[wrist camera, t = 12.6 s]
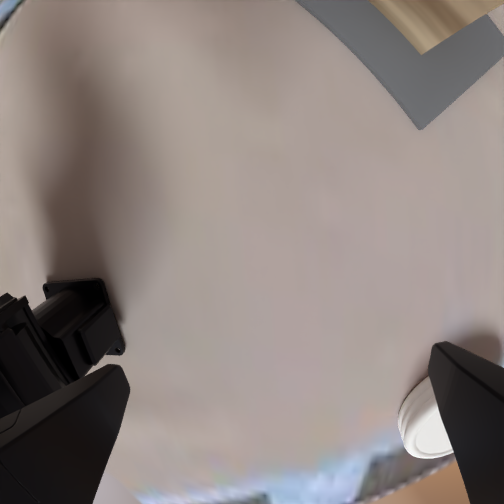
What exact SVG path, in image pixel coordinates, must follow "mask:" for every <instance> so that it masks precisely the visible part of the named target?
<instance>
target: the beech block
mask: <svg viewBox="0 0 504 504" xmlns="http://www.w3.org/2000/svg"><path fill="white" fill-rule="evenodd" d="M368 1H369V2H370V3H371V4H373V5H374V6H375V7H376V8H377V9H378V10H379V11H380V12H381V13H382V14H383V15H384V16H385V17H386V18H387V19H388V20H389V21H390V22H391V23H392V24H393V25H394V26H395V27H396V28H397V29H398V30H399V31H400V32H401V33H402V34H403V35H404V36H405V38H406V39H407V40H408V41H409V42H410V43H411V44H412V45H413V46H414V48H415V49H416V50H417V51H418V52H419V53H420V54H421V55H422V54H424V53H425V52H427V51H428V50H430V49H431V48H433V47H434V46H436V45H437V44H439V43H440V42H442V41H444V40H445V39H447V38H448V37H450V36H451V35H453V34H454V33H456V32H458V31H459V30H461V29H462V28H464V27H465V26H467V25H469V24H470V23H472V22H474V21H475V20H477V19H478V18H480V17H482V16H483V15H485V14H487V13H488V12H490V11H492V10H493V9H495V8H497V7H499V6H500V5H502V4H504V0H368Z"/></svg>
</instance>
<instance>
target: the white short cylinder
mask: <svg viewBox="0 0 504 504" xmlns="http://www.w3.org/2000/svg"><path fill="white" fill-rule="evenodd" d="M398 428H399V431H400V432H401V437H402V440H403V441H404V447H405V449H406V450H407V451H408V453H410V454H411V455H412V456H414V457H418V458H428V459H429V458H437V457H441V456H445V455H447V454H450V453H452V452H453V449H452V446H451V443H450V441H449V438H448V435H447V433H446V430H445V427H444V425H443V422H442V419H441V416H440V413H439V410H438V406H437V402H436V399H435V395H434V391H433V388H432V385H431V381H430V378H429V376H428V377H427V378H425V379H424V380H423V381H422V382H421V383H419V384H418V385H417V386H416V387H415V388H414V389H413V391H412V392H411V393H410V394H409V395H408V397H407V398H406V399H405V401H404V403H403V404H402V406H401V409H400V411H399V415H398Z"/></svg>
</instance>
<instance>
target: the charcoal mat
mask: <svg viewBox="0 0 504 504" xmlns="http://www.w3.org/2000/svg"><path fill="white" fill-rule="evenodd" d="M295 1H296V2H298V3H299V4H300V5H301V6H303V7H304V8H305V9H306V10H307V11H309V12H310V13H311V14H312V15H313V16H314V17H316V18H317V19H318V20H319V21H320V22H321V23H322V24H324V25H325V26H326V27H327V28H328V29H329V30H330V31H331V32H332V33H333V34H334V35H335V36H337V37H338V38H339V39H340V40H341V41H342V42H343V43H344V44H345V45H346V46H347V47H348V48H349V49H350V50H351V51H352V52H353V53H354V54H355V55H356V56H357V57H358V58H359V59H360V60H361V61H362V63H363V64H364V65H365V66H366V67H367V68H368V69H369V70H370V71H371V72H372V73H373V74H374V76H375V77H376V78H377V79H378V80H379V81H380V82H381V83H382V85H383V86H384V87H385V88H386V89H387V90H388V92H389V93H390V94H391V95H392V96H393V98H394V99H395V100H396V101H397V103H398V104H399V105H400V106H401V108H402V109H403V110H404V111H405V113H406V114H407V115H408V117H409V118H410V119H411V120H412V122H413V123H414V124H415V126H416V127H417V129H418V130H422V129H424V128H425V127H426V126H427V125H428V124H429V123H430V122H431V121H433V120H434V119H435V118H436V117H437V116H438V115H439V114H440V113H442V112H443V111H444V110H445V109H446V108H447V107H448V106H449V105H450V104H452V103H453V102H454V101H455V100H456V99H457V98H458V97H459V96H460V95H462V94H463V93H464V92H465V91H466V90H467V89H468V88H469V87H470V86H472V85H473V84H474V83H475V82H476V81H477V80H478V79H479V78H480V77H481V76H483V75H484V74H485V73H486V72H487V71H488V70H489V69H490V68H491V67H492V66H493V65H495V64H496V63H497V62H498V61H499V60H500V59H501V58H502V57H503V56H504V36H503V35H502V33H501V32H500V31H499V29H498V28H497V27H496V25H495V24H494V23H493V21H492V20H491V19H490V17H489V16H488V15H487V14H485V15H483V16H482V17H480V18H478V19H477V20H475V21H474V22H472V23H470V24H469V25H467V26H465V27H464V28H462V29H461V30H459V31H458V32H456V33H454V34H453V35H451V36H450V37H448V38H447V39H445V40H444V41H442V42H440V43H439V44H437V45H436V46H434V47H433V48H431V49H430V50H428V51H427V52H425V53H424V54H422V55H421V54H420V53H419V52H418V51H417V50H416V49H415V48H414V46H413V45H412V44H411V43H410V42H409V41H408V40H407V39H406V38H405V36H404V35H403V34H402V33H401V32H400V31H399V30H398V29H397V28H396V27H395V26H394V25H393V24H392V23H391V22H390V21H389V20H388V19H387V18H386V17H385V16H384V15H383V14H382V13H381V12H380V11H379V10H378V9H377V8H376V7H375V6H374V5H373V4H371V3H370V2H369V1H368V0H295Z"/></svg>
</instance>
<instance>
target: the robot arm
mask: <svg viewBox="0 0 504 504" xmlns="http://www.w3.org/2000/svg"><path fill="white" fill-rule="evenodd" d="M96 283H97V284H98V285H99V287H97V285H96ZM43 291H44V294H45V297H46V301H44V302H43V303H42V304H40V305H39V306H37V307H36V308H35V309H33V310H31V308H30V307H29V305H28V303H29V302H28V300H27V298H26V296H23V297H21V298H19V299H17V298H15V297H12V296H11V295H10V294H8V293H6V294H4V295H2V296H1V297H0V504H93V500H94V498H95V495H96V492H97V489H98V487H99V484H100V481H101V478H102V475H103V473H104V470H105V467H106V465H107V462H108V459H109V457H110V454H111V452H112V449H113V446H114V444H115V441H116V439H117V436H118V433H119V430H120V427H121V423H122V419H123V416H124V412H125V409H126V405H127V401H128V398H129V394H130V386H129V383H128V381H127V378H126V376H125V373H124V371H123V369H122V367H121V366H120V365H115V364H107V365H105V366H103V367H102V368H100V369H98V370H96V371H94V372H92V373H90V374H88V375H86V374H87V373H88V371H89V370H90V369H91V368H92V366H93V365H94V366H96V365H97V364H98V362H99V361H100V360H101V359H102V358H103V356H104V355H119V356H120V355H122V354H123V353H124V352H125V347H124V344H123V341H122V338H121V335H120V332H119V329H118V326H117V323H116V320H115V317H114V314H113V311H112V308H111V305H110V302H109V299H108V295H107V292H106V289H105V285H104V283H103V281H102V280H101V279H99V278H92V279H80V280H67V281H54V282H47V283H45V284H44V285H43ZM118 348H119V349H120V350H119V349H118ZM428 374H429V378H430V381H431V385H432V388H433V391H434V395H435V399H436V402H437V406H438V410H439V413H440V416H441V419H442V422H443V425H444V427H445V430H446V433H447V435H448V438H449V441H450V443H451V446H452V449H453V452H454V454H455V457H456V460H457V463H458V466H459V469H460V472H461V475H462V478H463V481H464V484H465V488H466V491H467V494H468V498H469V501H470V504H504V368H503V367H501V366H499V365H496V364H494V363H492V362H490V361H488V360H486V359H484V358H482V357H479V356H477V355H475V354H473V353H471V352H469V351H467V350H465V349H462V348H460V347H458V346H456V345H454V344H452V343H450V342H447V341H444V342H439V343H435V344H434V345H433V347H432V350H431V356H430V361H429V366H428ZM85 375H86V376H85ZM84 376H85V377H84Z"/></svg>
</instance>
